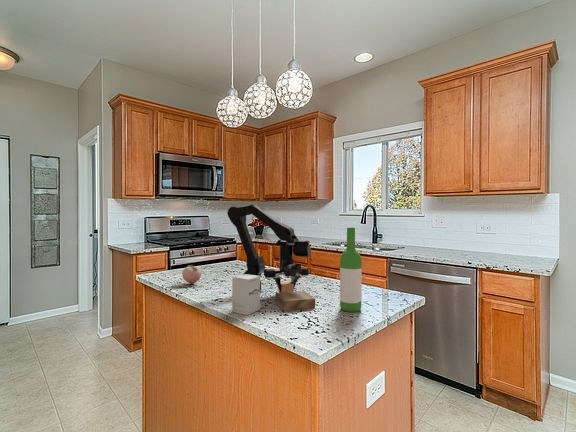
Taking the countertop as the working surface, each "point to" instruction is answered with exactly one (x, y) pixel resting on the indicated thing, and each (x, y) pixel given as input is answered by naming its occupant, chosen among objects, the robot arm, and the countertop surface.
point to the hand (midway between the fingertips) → (286, 292)
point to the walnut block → (295, 300)
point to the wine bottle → (350, 276)
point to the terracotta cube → (287, 287)
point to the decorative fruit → (191, 274)
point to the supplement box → (245, 294)
